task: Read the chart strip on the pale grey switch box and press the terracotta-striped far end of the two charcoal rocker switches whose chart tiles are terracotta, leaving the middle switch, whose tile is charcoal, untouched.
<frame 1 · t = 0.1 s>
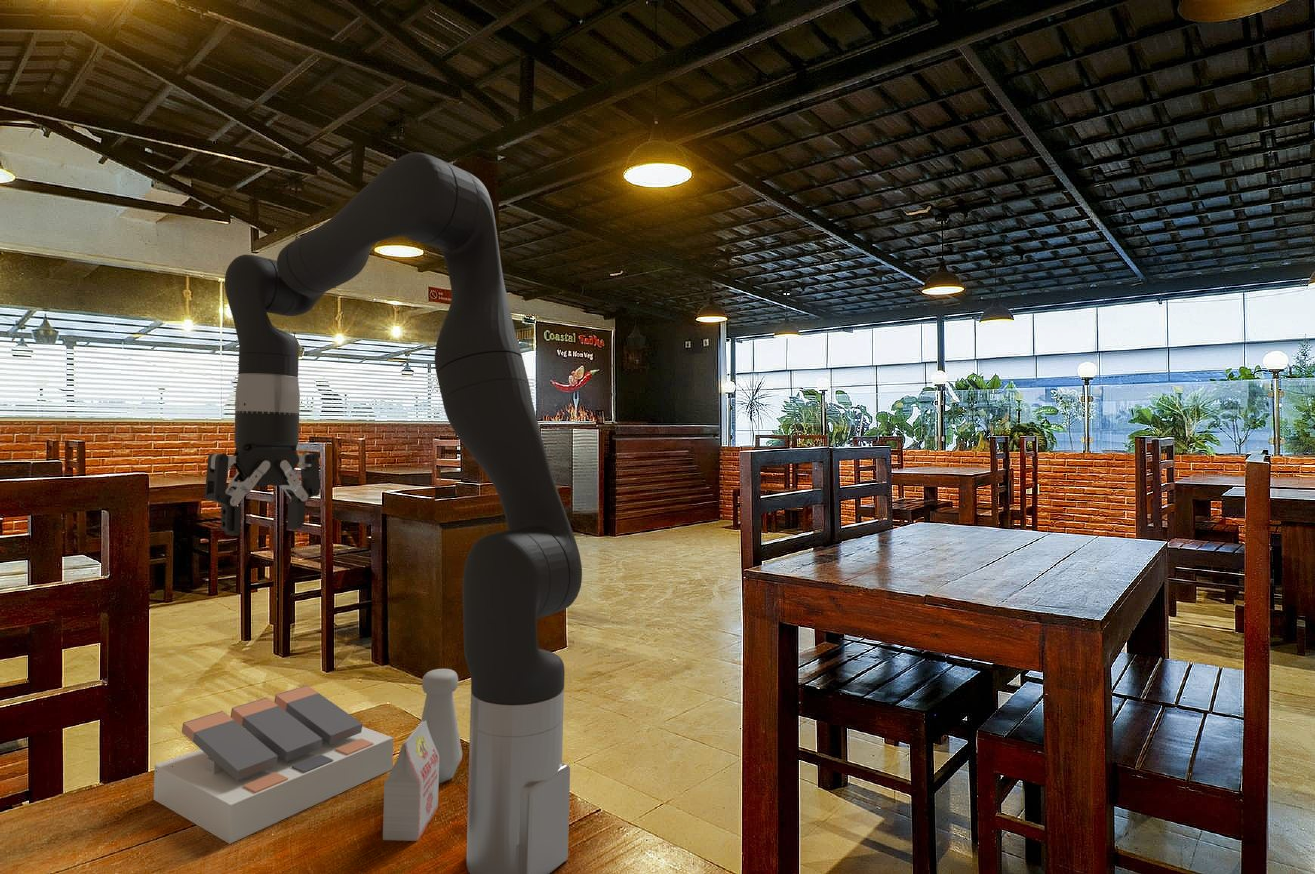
hand: (264, 531, 95), 29 cm above the table, fingers open, 8 cm apart
switch box: (279, 783, 86), on the table
salt shaker: (437, 777, 89), on the table
switch 2: (275, 727, 86), point 7 cm above the table, hinge at -12.0°
switch 3: (229, 743, 82), point 6 cm above the table, hinge at -12.0°
switch 1: (317, 713, 91), point 6 cm above the table, hinge at -12.0°
white gabled box: (411, 825, 78), on the table
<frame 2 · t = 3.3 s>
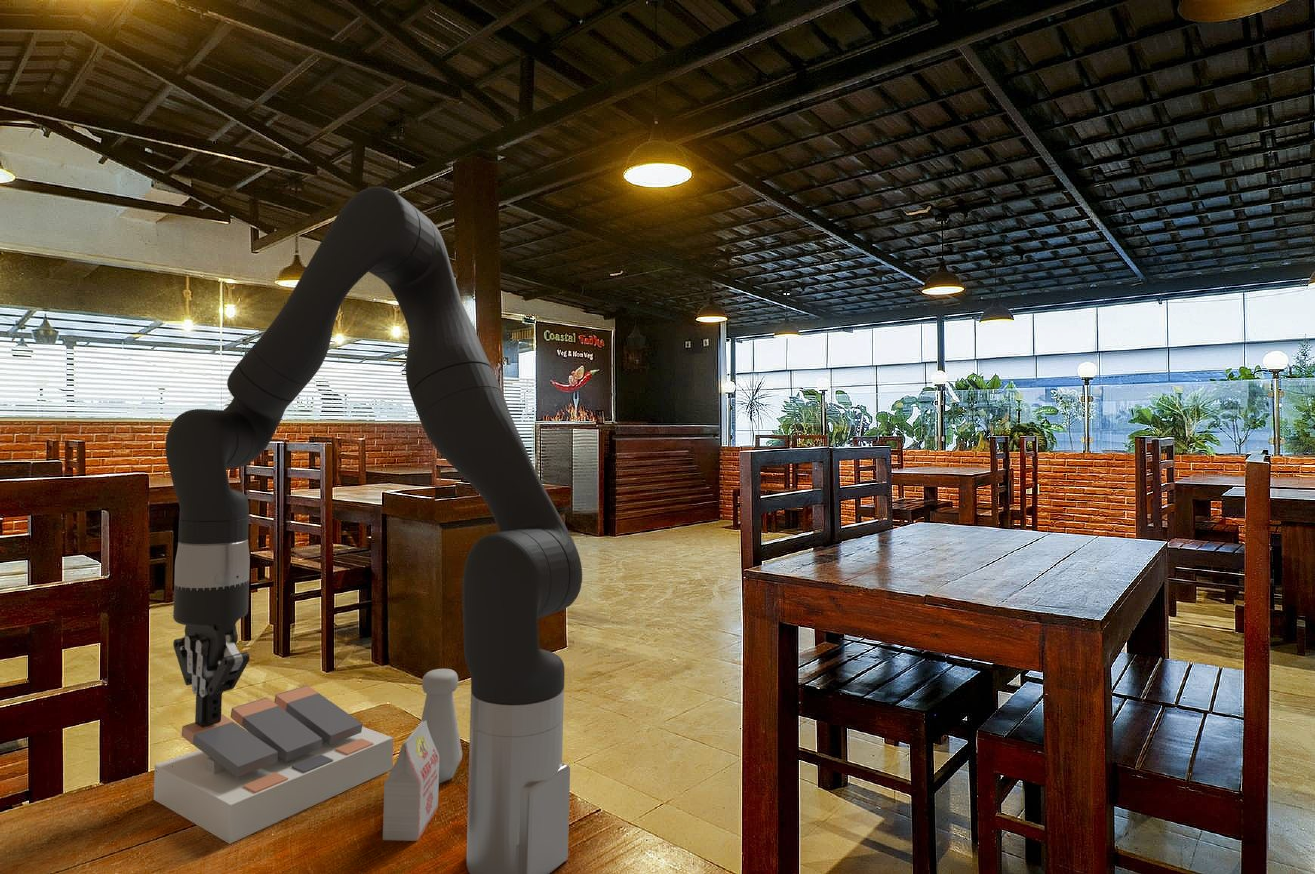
hand: (207, 724, 84), 8 cm above the table, fingers closed
switch 3: (229, 743, 82), point 6 cm above the table, hinge at -7.7°, touching gripper
everything else where it was.
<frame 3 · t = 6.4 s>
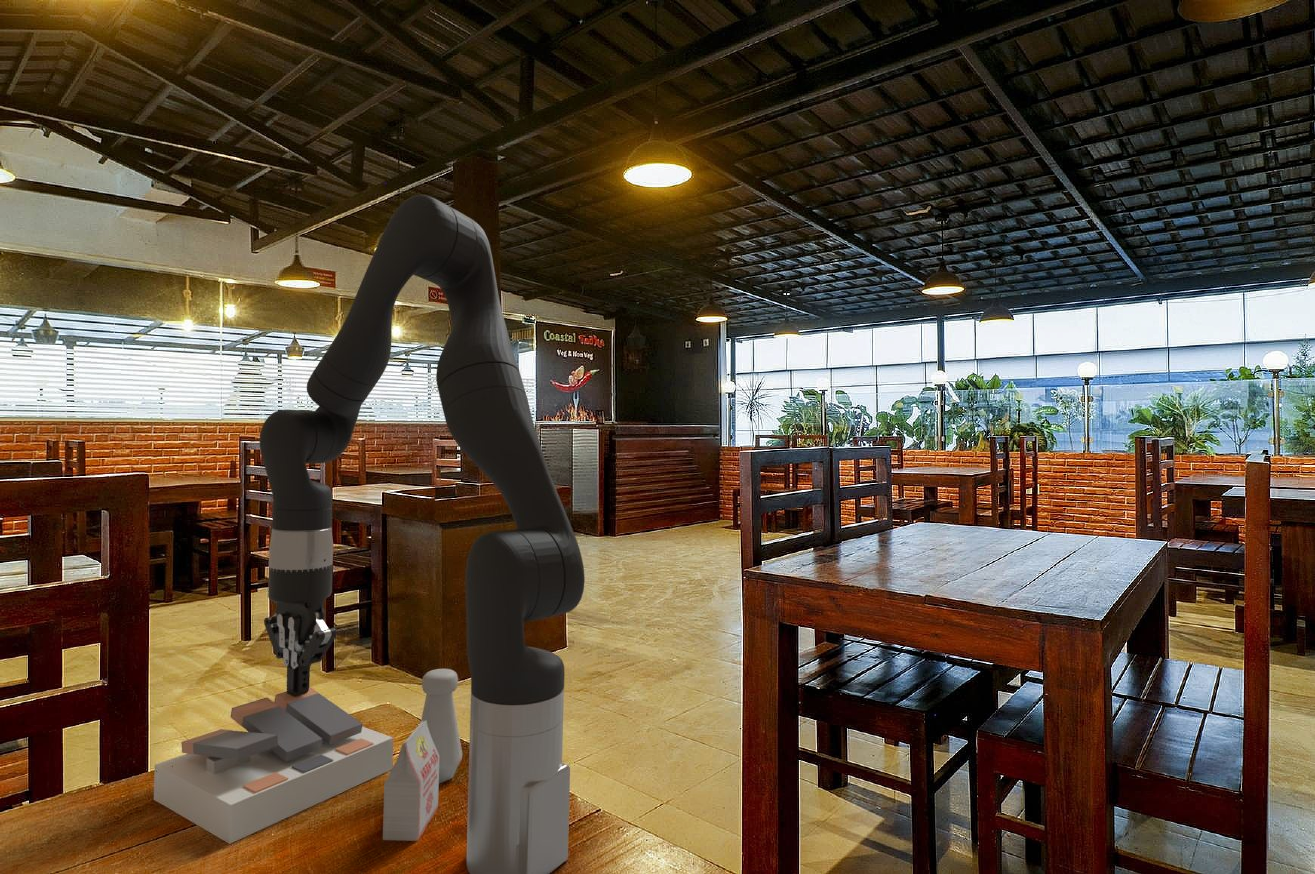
hand: (297, 693, 94), 8 cm above the table, fingers closed
switch 3: (229, 743, 82), point 6 cm above the table, hinge at 10.2°
switch 1: (317, 713, 91), point 6 cm above the table, hinge at -12.0°, touching gripper
everything else where it was.
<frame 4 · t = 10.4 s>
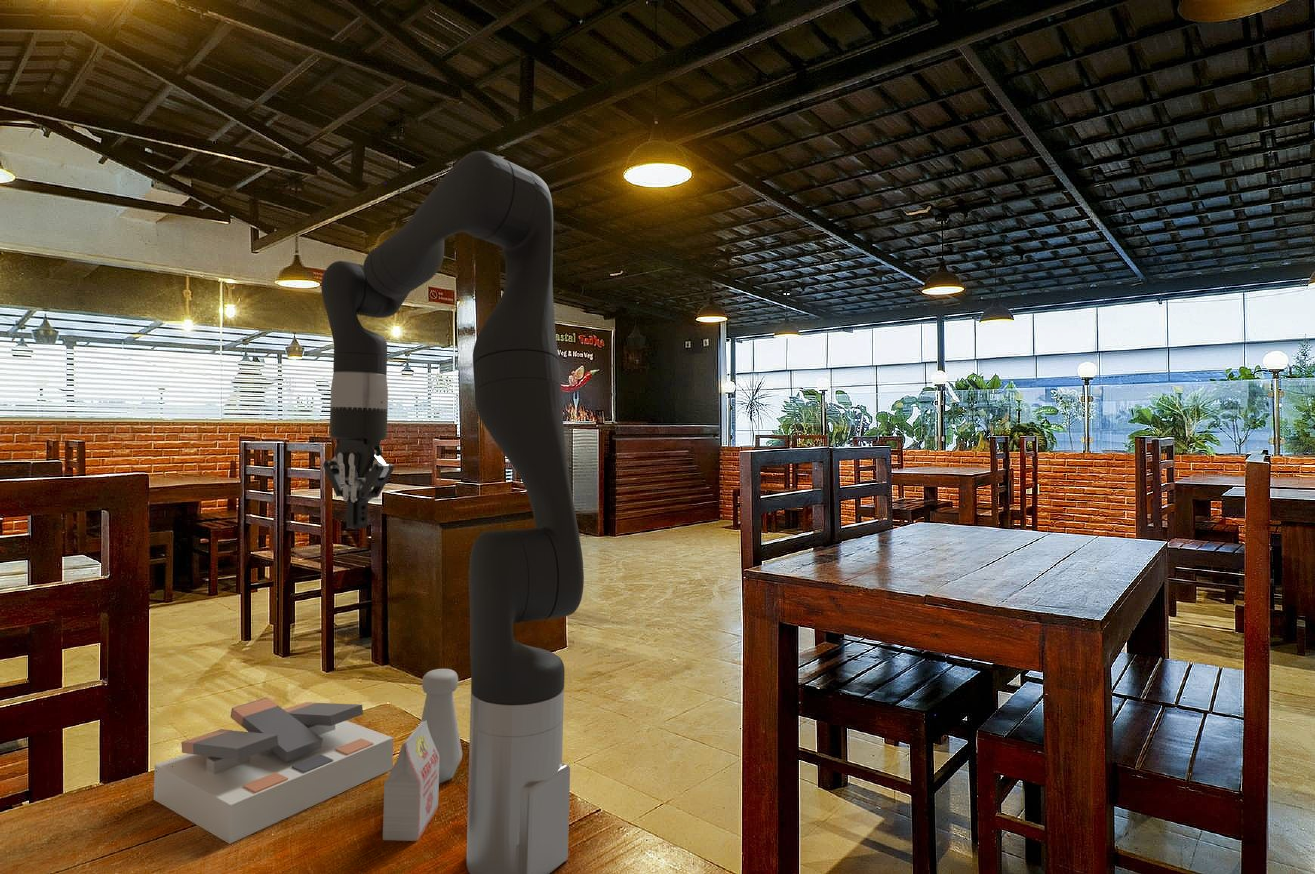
hand: (356, 528, 101), 29 cm above the table, fingers closed
switch 1: (317, 713, 91), point 6 cm above the table, hinge at 10.7°
everything else where it was.
at the end: switch 3 at +10° (first picture: -12°); switch 1 at +11° (first picture: -12°); switch 2 at -12° (first picture: -12°) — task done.
